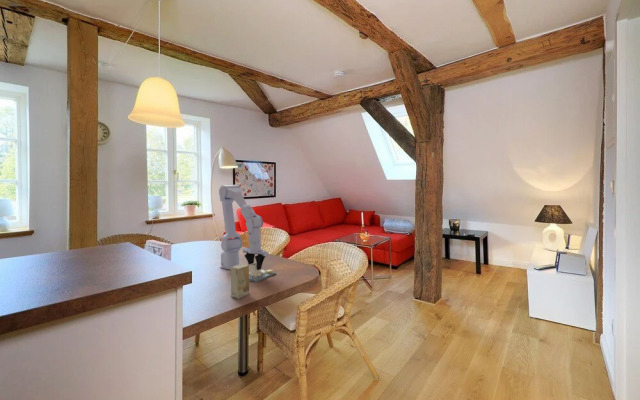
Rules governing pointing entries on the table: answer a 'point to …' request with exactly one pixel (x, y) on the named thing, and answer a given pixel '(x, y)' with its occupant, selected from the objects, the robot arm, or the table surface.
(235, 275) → the skincare box
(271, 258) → the table surface
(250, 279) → the carrier plate
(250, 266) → the gear
